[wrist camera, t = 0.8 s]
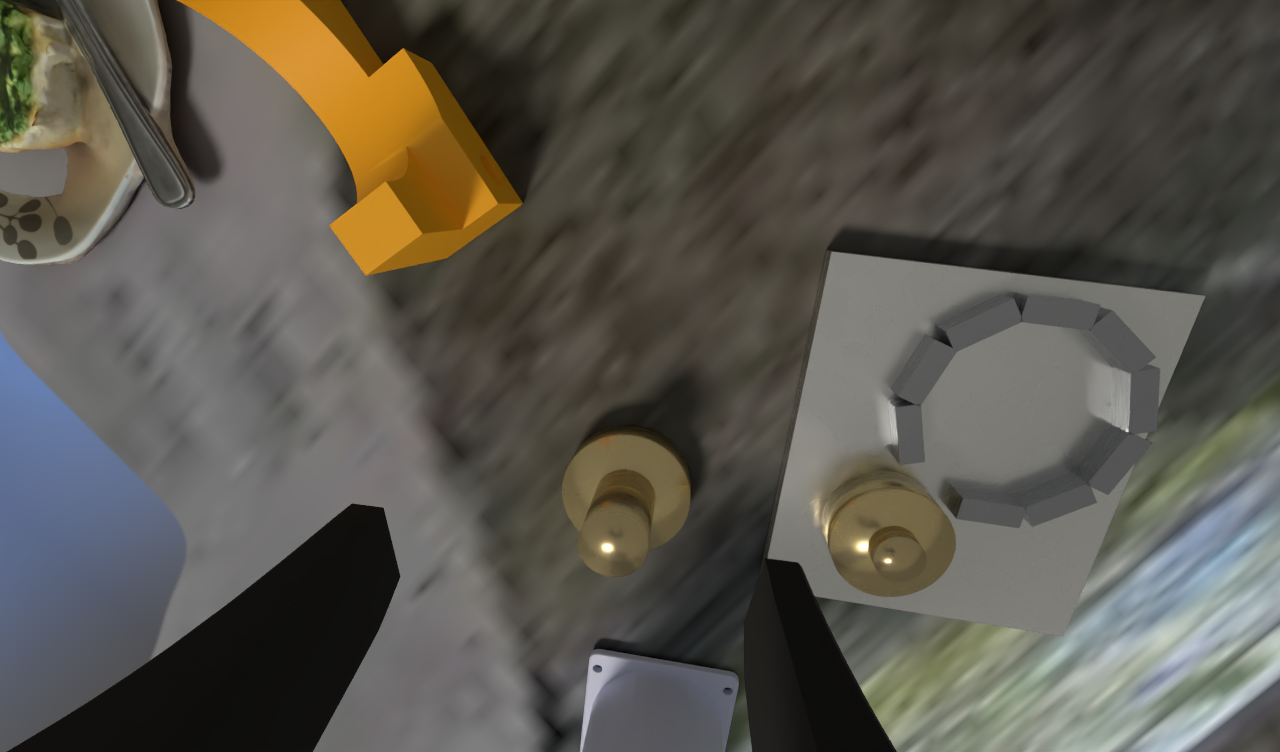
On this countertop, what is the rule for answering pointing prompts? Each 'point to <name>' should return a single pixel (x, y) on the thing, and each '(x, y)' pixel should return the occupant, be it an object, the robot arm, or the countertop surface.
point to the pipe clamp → (379, 131)
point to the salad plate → (85, 120)
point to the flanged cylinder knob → (625, 496)
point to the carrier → (968, 434)
